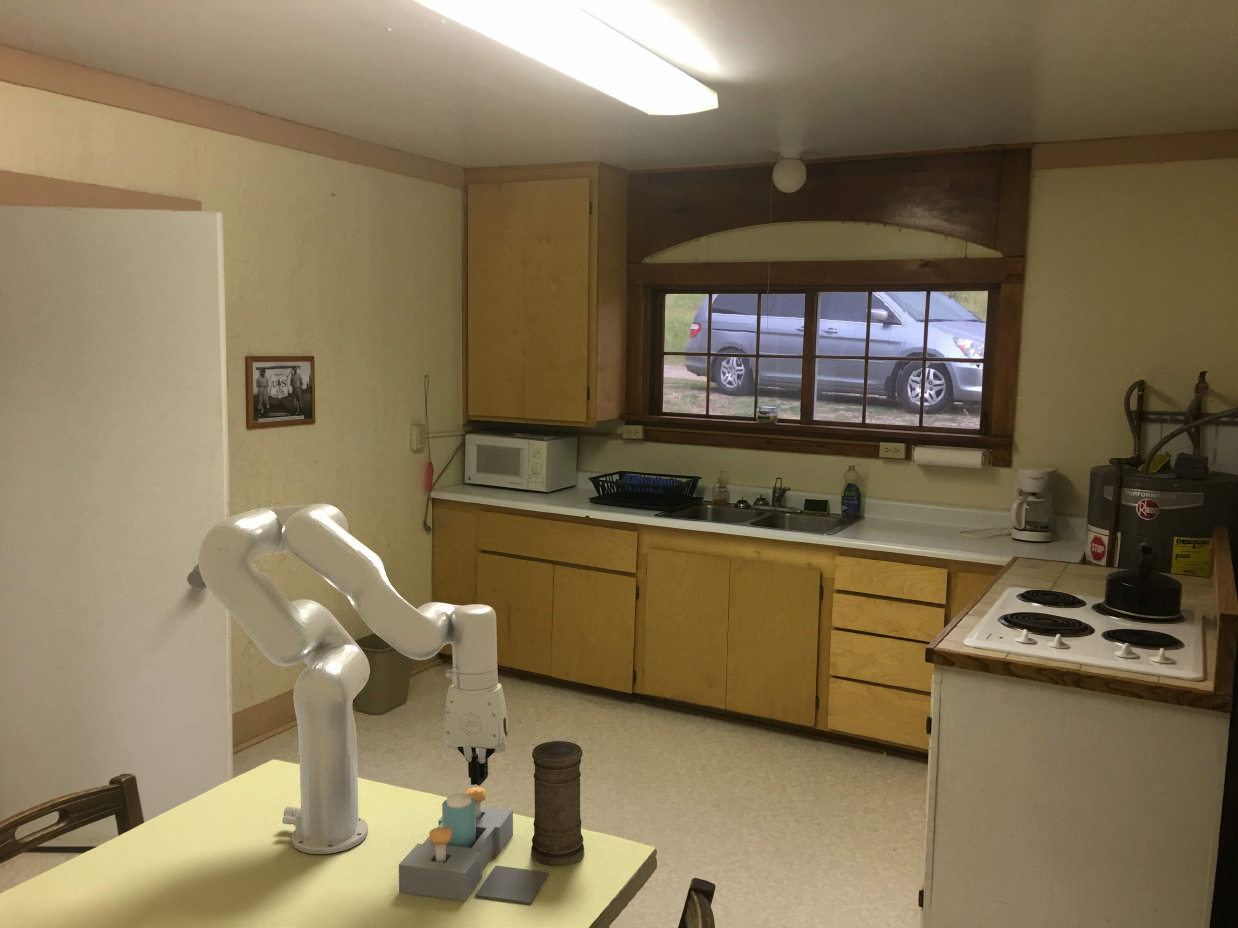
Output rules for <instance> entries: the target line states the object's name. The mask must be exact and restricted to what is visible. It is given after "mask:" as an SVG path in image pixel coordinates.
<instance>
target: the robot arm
mask: <svg viewBox="0 0 1238 928" xmlns="http://www.w3.org/2000/svg"><path fill="white" fill-rule="evenodd" d="M286 553H287V554H288V553H290V555H292V556H293V557H294V558H296V559H297V560H299V561H300V562H301V563H302V564H304V565H305V566H306V567H308V568H309V569H310V570H312V571H313V572H315V574H317V575H318V576H319V577H321V578H322V579H323V580H325V581H326V582H327V583H329V584H330V585H331V586H332V587H333V588H335V589H336V590H337V591H338V592H340V593H341V594H343V595H344V596H345V597H346V598H347V599H348V601H349V602H350V604H351V606H352V607H353V608H354V610H355V612H356V613H357V614H358V615H359V617H360V619H362V621H363V622H364V623H365V625H366V626H367V627H368V628H369V629H370V630H371V631H372V632H373V633H374V634H376V636H378V637H379V638H380V639H382V640H383V641H384V642H385V643H387V644H388V645H389V646H390V647H392V648H393V649H395V650H396V651H397V652H399V653H400V654H402V655H403V656H406V657H408V658H410V659H413V660H417V661H425V660H429V659H430V658H433V657H435V656H436V655H437V654H439V652H440V651H441V650H442V649H443V647H444V646H447V645H448V644H450V645H451V649H452V668H451V669H447V670H446V671H445V677H446V679H447V678H449V679H451V683H452V684H451V685H449V686H448V689H447V696H446V702H445V712H444V741H445V743H446V745H447V747H448V748H450V749H453V750H456V751H459V752H460V754H461V755H462V756H463V757H464V760H465V762H467V768H468V769H467V771H468V772H467V774H468V778H470V785H471V786H475V785H476V786H477V787H479V786H481V785H482V784H483V783H484V782H485V781H486V780H487V778H488V777H489V758H490V757H491V756H492V755H493V754H498V753H504V752H506V750H507V749H508V748H509V743H508V739H507V738H508V735H509V733H508V732H509V730H508V729H509V727H508V726H509V725H508V715H507V713H508V711H507V706H506V700H505V695H504V690H503V686H502V684H501V683H499V678H498V645H497V643H498V641H497V640H498V638H497V637H498V636H497V635H498V633H497V614H496V611H495V609H494V608H493V607H492V606H490V605H486V604H481V603H479V604H478V603H477V604H475V603H473V604H466V605H458V604H451V603H446V602H438V601H435V602H434V601H432V602H431V601H430V602H427V603H424V604H422V605H420V606H419V607H418V608H416V607H414V605H412V604H410V603H409V602H408V601H407V600H406V599H405V598H403V596H401V595H400V594H399V593H398V592H397V591H396V589H395V588H394V587H393V586H392V585H391V584H392V583H390V581H389V579H388V577H387V576H388V575H387V573H386V570H385V569H386V568H385V565H384V563H383V561H382V559H381V557H380V556H379V555H378V554H377V553H375V552H374V551H373V550H371V549H370V548H369V547H367V546H366V545H365V544H364V543H362V542H361V541H359V540H358V539H357V538H356V537H354V536H353V535H352V534H350V533H349V523H348V520H347V518H346V516H345V514H344V513H343V511H341V510H340V509H339V508H337V507H336V506H334V505H332V504H328V503H312V504H311V503H310V504H302V505H301V504H299V505H286V506H283V505H282V506H270V507H269V506H268V507H259V508H254V509H250V510H248V511H244V512H241V513H238V514H234V515H232V516H229V517H226V518H224V519H222V520H220V521H218V523H216V524H214V525H213V526H212V527H211V528H210V529H209V530H208V531H207V533H206V534H205V536H204V538H203V539H202V542H201V544H200V548H199V551H198V557H197V558H198V562H197V563H198V570H199V572H200V573H199V574H200V576H201V579H202V581H203V583H204V585H205V586H206V588H207V589H208V590H209V592H210V593H211V594H212V595H213V596H214V598H215V599H216V600H217V601H218V602H219V603H220V604H221V605H222V606H223V607H224V609H226V610H227V612H228V613H229V614H230V615H231V616H232V618H233V619H234V620H235V621H236V623H237V624H238V625H239V627H240V628H241V629H242V630H243V631H244V633H245V634H246V635H247V636H248V637H249V639H250V640H251V641H252V642H253V644H254V645H256V647H257V648H258V649H259V650H260V652H261V653H262V654H263V655H264V656H265V657H266V659H268V660H269V662H271V663H272V664H274V665H276V666H279V667H290V666H294V665H296V664H298V663H300V662H302V661H303V662H304V663H305V665H307V666H306V667H305V668H304V669H303V670H302V672H301V673H300V674H299V676H298V678H297V679H296V681H295V684H294V688H293V694H292V695H293V696H292V699H293V707H294V712H295V717H296V722H297V723H296V724H297V730H298V731H297V733H298V734H297V735H298V755H299V776H300V777H299V783H300V784H299V789H300V808H298V807H296V806H295V807H294V806H286V807H285V808H284V811H283V818H282V821H281V822H282V824H284V825H293V826H294V827H295V829H294V831H293V833H292V834H291V835H292V837H291V842H292V845H293V847H294V848H295V849H296V850H298V851H300V852H303V853H305V854H311V855H328V854H334V853H340V852H344V851H346V850H349V849H352V848H354V847H355V846H357V845H358V844H360V843H362V842H363V841H364V840H365V839H366V838H367V836H368V834H369V825H368V823H367V822H366V821H365V820H364V819H363V818H361V817H359V789H358V788H359V784H358V783H359V781H358V776H359V775H358V747H357V746H358V742H357V741H358V740H357V727H356V726H357V725H356V721H355V716H354V711H353V703H354V702H353V701H354V699H356V697H357V695H358V694H360V692H361V691H362V690H363V689H364V688H365V686H366V684H367V683H368V681H369V678H370V673H371V668H370V663H369V660H368V657H367V656H366V654H365V653H364V651H363V650H362V648H361V647H360V645H359V644H358V643H357V642H356V641H355V640H354V639H353V637H352V636H351V635H350V634H349V632H348V631H347V630H346V629H345V628H344V627H343V625H342V624H341V623H340V621H339V620H338V619H337V618H336V617H335V616H334V615H333V614H332V612H331V611H330V610H329V609H327V607H325V606H324V605H322V604H320V603H319V602H318V601H315V600H311V599H305V598H304V599H302V598H300V599H296V600H293V601H290V600H289V599H288V598H287V596H285V594H284V593H283V592H282V591H281V590H280V589H279V587H278V586H277V585H276V583H275V582H274V581H273V580H272V579H271V578H269V577H268V576H267V575H266V574H264V573H262V572H261V571H259V570H258V569H257V568H256V565H255V561H259V560H260V559H262V558H264V557H267V556H268V555H270V556H271V555H274V554H286ZM478 749H479V751H478Z"/></svg>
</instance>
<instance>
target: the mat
mask: <svg viewBox="0 0 1238 928" xmlns="http://www.w3.org/2000/svg"><path fill="white" fill-rule="evenodd" d="M548 877H549V871H544V870H543V871H541V870H534V869H526V868H519V867H512V866H511V867H510V866H504V865H503V866H502V865H494V867H493V869H492V870H491V871H490V873H489V874H488V876H487V877H486V879H485V880H484V881H483V883H482V884H481V885H480V887H479V888H478V890H477V892H475V894H474V897H475V898H478V899H484V900H485V899H487V900H494V901H501V902H508V903H516V904H521V905H522V904H523V905H529V906H531V905H532V904H533V902H534V900H535V898H536V896H537V895H538V893H539V891H540V890H541V888H542V886H543V884H544V883H545V881H546V879H547V878H548Z"/></svg>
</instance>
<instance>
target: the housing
mask: <svg viewBox="0 0 1238 928" xmlns="http://www.w3.org/2000/svg"><path fill="white" fill-rule="evenodd" d="M437 821H438V826H436V828H438V827H443V825H442V816H441V817H440V818H439V819H438V820H437ZM513 835H514V809H512V808H511V809H510V808H501V807H493V806H492V807H491V806H483V805H481V819H476V843H475V844H474V845H473V846H472V848H466V847H458V846H450V845H446V863H441V862H436V854H435V844H432V843H430V841H429V836H428V837H427V838H426V839H425V841H424V842H423V843H416V844H415V846H414V847H413V848H412V849H411V850H410V852H409V853H408V854H407V855H405V857H404V858H403V859H402V860H401V861H400V862H399V864H398V893H401V894H408V895H416V896H422V897H423V896H425V897H431V898H439V899H446V900H453V901H454V900H455V901H460V902H466V901H467V900H468V899H469V897H470V896H471V895H472V893H473V892H474V890H475V888H476V887H477V886H478V884H479V883H480V882H481V880H482V879H483V870H484V869H485V868H486V866H487V864H488V863H489V862H490V860H491V859H492V858H493V856H494V855H495V854H500V853H501V852H502V851H503V849H504V848H505V847H506V845H507V843H508V842H509V841H510V839H511V838H512V837H513Z"/></svg>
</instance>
